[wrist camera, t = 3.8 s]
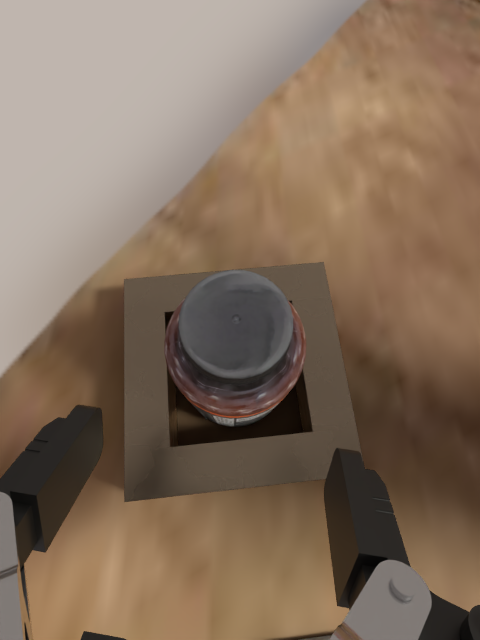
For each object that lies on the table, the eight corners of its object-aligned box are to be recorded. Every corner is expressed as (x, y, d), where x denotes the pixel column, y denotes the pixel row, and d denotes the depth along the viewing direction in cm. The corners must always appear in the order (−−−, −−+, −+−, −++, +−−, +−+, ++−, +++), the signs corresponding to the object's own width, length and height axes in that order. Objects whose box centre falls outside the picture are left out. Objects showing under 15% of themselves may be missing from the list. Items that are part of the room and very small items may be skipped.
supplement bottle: (177, 347, 24) (132, 263, 13) (265, 323, 25) (289, 223, 14) (200, 441, 22) (169, 430, 12) (295, 412, 23) (349, 376, 12)
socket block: (313, 283, 26) (323, 262, 23) (348, 471, 22) (365, 474, 19) (136, 298, 25) (124, 279, 22) (139, 495, 21) (124, 502, 18)
